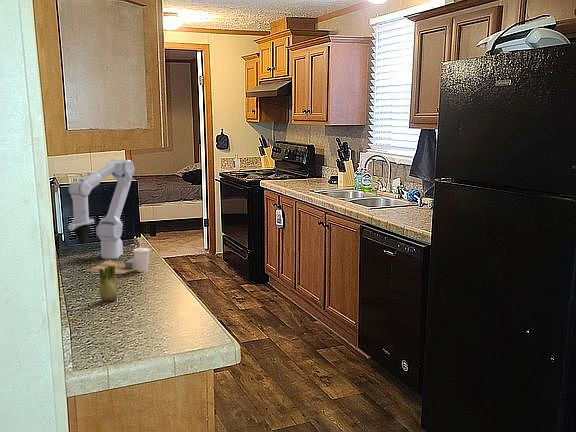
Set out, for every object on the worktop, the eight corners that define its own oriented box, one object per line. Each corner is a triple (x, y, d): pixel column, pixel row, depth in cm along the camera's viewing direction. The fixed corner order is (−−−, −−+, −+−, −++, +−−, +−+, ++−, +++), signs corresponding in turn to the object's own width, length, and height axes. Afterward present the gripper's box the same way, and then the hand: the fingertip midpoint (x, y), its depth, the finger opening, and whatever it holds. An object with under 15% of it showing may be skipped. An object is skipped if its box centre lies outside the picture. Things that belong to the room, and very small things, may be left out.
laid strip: (125, 265, 226) (125, 262, 225) (143, 266, 224) (143, 263, 224) (104, 275, 210) (104, 272, 210) (123, 277, 208) (123, 273, 208)
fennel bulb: (100, 303, 178) (99, 268, 176) (99, 299, 182) (97, 264, 180) (119, 301, 180) (117, 266, 178) (116, 297, 185) (115, 263, 183)
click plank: (103, 275, 210) (103, 272, 210) (85, 273, 212) (85, 270, 212) (125, 265, 226) (124, 262, 225) (107, 263, 227) (107, 260, 227)
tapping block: (131, 264, 223) (131, 258, 222) (138, 264, 223) (138, 258, 222) (125, 268, 216) (125, 262, 216) (132, 268, 216) (132, 262, 215)
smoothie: (130, 274, 212) (129, 239, 210) (140, 270, 218) (139, 236, 215) (144, 276, 210) (142, 241, 207) (154, 272, 215) (153, 237, 213)
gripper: (82, 207, 225) (84, 239, 227) (60, 213, 211) (62, 247, 213) (97, 208, 223) (99, 240, 226) (76, 214, 209) (78, 248, 212)
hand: (82, 243), depth 219 cm, fingers closed
